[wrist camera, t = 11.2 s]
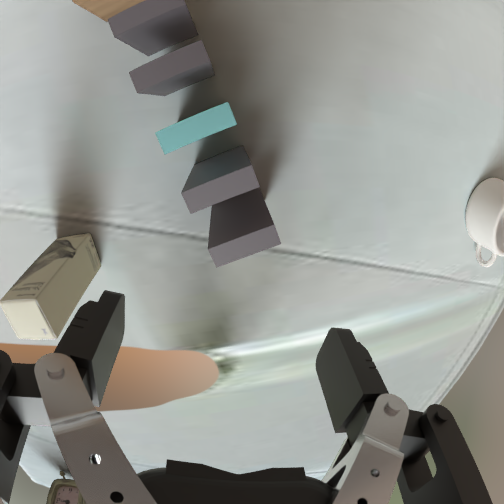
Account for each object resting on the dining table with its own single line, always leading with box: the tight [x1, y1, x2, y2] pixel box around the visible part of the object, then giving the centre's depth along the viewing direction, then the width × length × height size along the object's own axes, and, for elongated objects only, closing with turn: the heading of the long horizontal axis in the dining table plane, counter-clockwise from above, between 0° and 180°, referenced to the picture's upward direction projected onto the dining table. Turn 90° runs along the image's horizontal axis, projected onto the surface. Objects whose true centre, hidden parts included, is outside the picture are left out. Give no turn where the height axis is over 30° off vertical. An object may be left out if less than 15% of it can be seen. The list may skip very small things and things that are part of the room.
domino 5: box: [208, 187, 281, 267], centre depth 27 cm, size 2×5×10 cm, turn 110°
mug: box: [465, 178, 504, 267], centre depth 32 cm, size 12×10×6 cm
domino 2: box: [129, 40, 215, 96], centre depth 21 cm, size 2×5×10 cm, turn 111°
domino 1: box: [108, 0, 198, 56], centre depth 19 cm, size 2×5×10 cm, turn 110°
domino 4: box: [181, 146, 260, 214], centre depth 25 cm, size 2×5×10 cm, turn 110°
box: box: [0, 233, 101, 340], centre depth 27 cm, size 5×4×13 cm
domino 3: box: [155, 102, 237, 154], centre depth 23 cm, size 2×5×10 cm, turn 110°
